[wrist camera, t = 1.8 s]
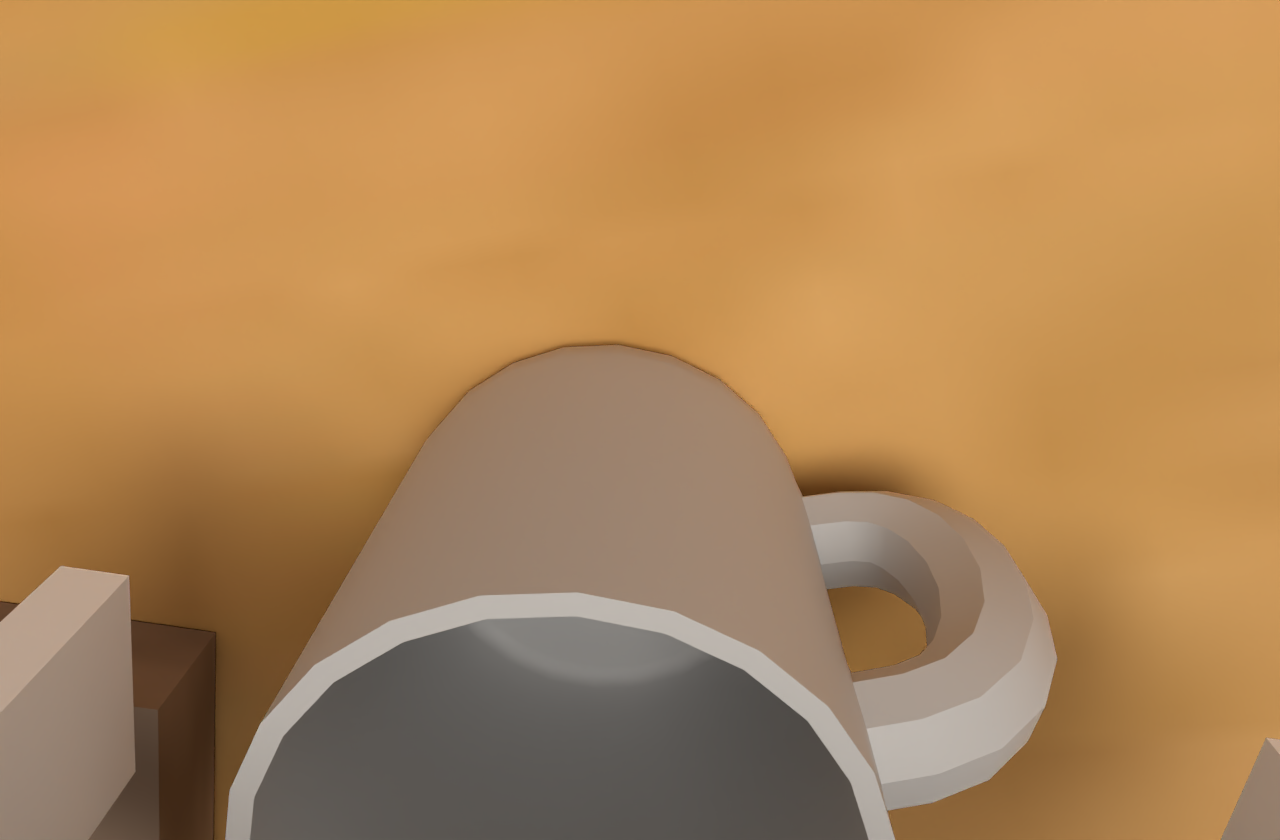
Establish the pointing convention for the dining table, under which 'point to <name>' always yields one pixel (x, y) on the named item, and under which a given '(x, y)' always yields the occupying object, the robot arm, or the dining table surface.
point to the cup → (638, 635)
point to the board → (167, 737)
